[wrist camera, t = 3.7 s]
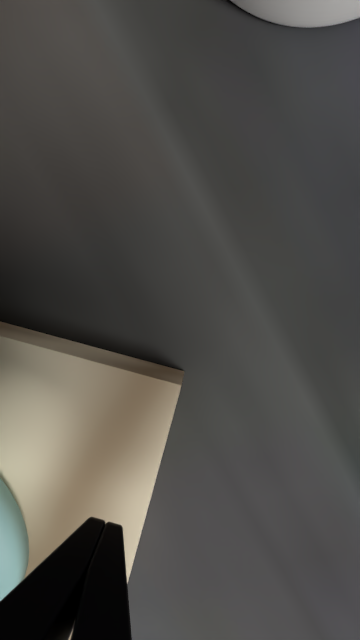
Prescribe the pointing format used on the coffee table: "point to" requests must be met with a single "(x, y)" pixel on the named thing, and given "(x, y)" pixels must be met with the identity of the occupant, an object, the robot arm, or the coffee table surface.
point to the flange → (11, 543)
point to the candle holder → (302, 11)
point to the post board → (80, 435)
